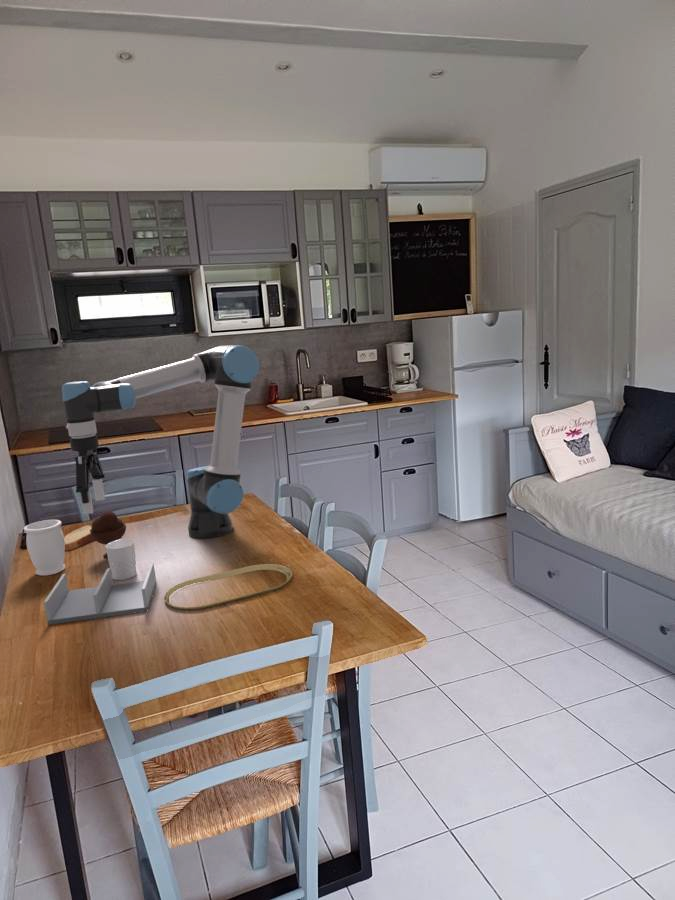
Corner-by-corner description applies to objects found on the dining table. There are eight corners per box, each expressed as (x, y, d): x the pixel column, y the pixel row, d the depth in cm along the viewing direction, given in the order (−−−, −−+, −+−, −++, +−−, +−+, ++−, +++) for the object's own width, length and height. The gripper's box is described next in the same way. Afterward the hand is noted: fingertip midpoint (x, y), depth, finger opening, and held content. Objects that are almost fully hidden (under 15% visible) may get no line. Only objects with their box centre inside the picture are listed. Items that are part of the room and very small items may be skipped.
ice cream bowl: (135, 548, 208) (128, 505, 205) (120, 561, 197) (113, 516, 194) (104, 549, 209) (97, 506, 206) (88, 562, 198) (80, 517, 195)
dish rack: (156, 583, 178) (153, 562, 177) (148, 611, 161) (144, 588, 160) (66, 594, 175) (62, 574, 174) (48, 624, 158) (43, 601, 156)
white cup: (114, 571, 189) (109, 540, 187) (141, 569, 190) (136, 537, 188) (107, 582, 182) (102, 549, 180) (135, 579, 182) (130, 547, 180)
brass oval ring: (302, 586, 170) (302, 580, 170) (172, 619, 156) (171, 613, 156) (279, 564, 187) (278, 559, 187) (159, 592, 173) (158, 587, 173)
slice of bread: (60, 553, 210) (58, 542, 209) (55, 538, 225) (53, 529, 225) (116, 541, 218) (114, 530, 217) (107, 527, 234) (105, 518, 233)
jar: (76, 565, 197) (68, 519, 194) (51, 578, 187) (43, 531, 184) (49, 563, 200) (41, 518, 197) (24, 576, 191) (15, 529, 188)
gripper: (81, 429, 193) (92, 496, 197) (56, 445, 168) (69, 520, 173) (106, 427, 193) (116, 493, 198) (85, 442, 169) (97, 517, 173)
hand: (94, 506), depth 185 cm, fingers open, 13 cm apart
